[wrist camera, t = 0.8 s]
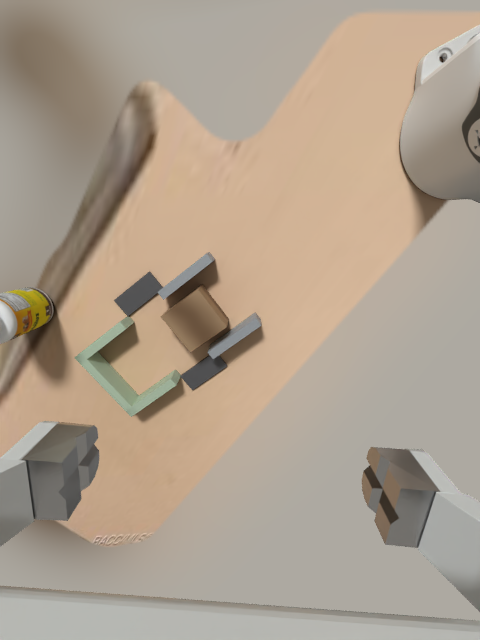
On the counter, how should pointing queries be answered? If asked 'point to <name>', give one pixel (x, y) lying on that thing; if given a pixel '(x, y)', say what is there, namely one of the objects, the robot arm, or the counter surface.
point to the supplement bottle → (23, 312)
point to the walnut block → (196, 318)
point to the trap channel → (192, 377)
